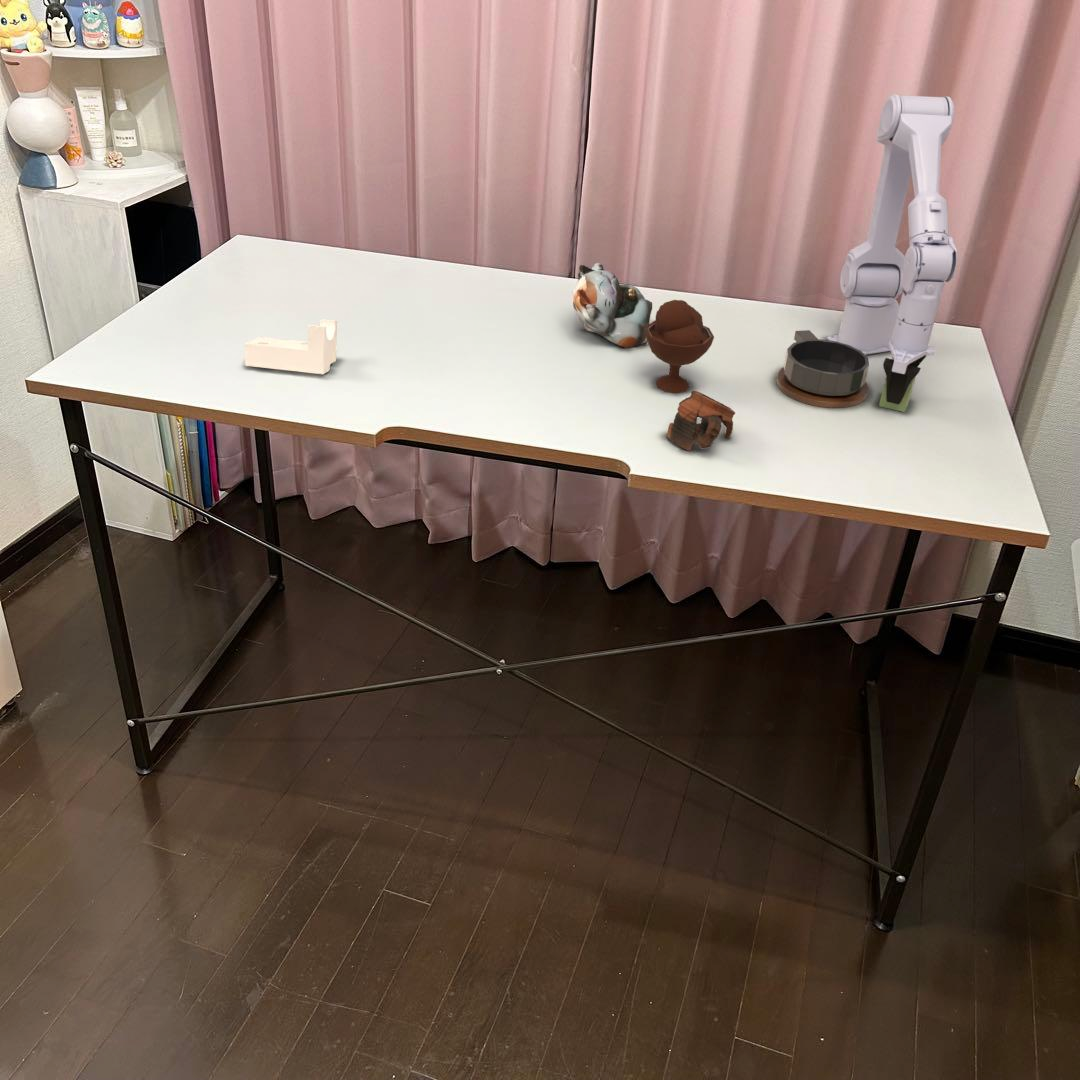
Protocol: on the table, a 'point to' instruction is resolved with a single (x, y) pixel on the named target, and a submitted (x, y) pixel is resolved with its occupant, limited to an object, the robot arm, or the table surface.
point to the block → (903, 403)
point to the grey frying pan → (825, 365)
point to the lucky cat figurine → (611, 307)
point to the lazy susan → (820, 399)
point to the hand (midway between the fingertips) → (895, 396)
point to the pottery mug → (710, 426)
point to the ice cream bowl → (677, 341)
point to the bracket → (296, 350)
